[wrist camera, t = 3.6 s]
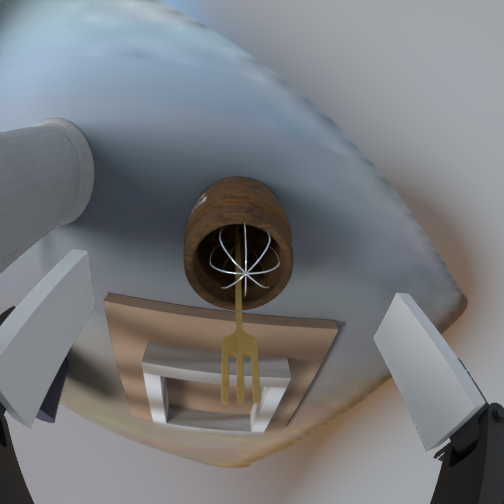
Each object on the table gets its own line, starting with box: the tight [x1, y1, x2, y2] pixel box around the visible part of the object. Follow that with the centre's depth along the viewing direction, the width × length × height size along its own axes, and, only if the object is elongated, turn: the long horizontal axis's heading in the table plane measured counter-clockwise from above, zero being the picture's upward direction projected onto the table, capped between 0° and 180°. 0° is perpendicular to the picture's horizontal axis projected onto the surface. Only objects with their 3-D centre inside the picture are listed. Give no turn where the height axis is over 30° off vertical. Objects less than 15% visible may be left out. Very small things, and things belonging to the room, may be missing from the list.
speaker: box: [36, 359, 69, 423], centre depth 20 cm, size 8×6×10 cm
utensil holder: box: [184, 176, 293, 404], centre depth 13 cm, size 6×6×12 cm
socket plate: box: [104, 293, 339, 437], centre depth 25 cm, size 20×20×4 cm
